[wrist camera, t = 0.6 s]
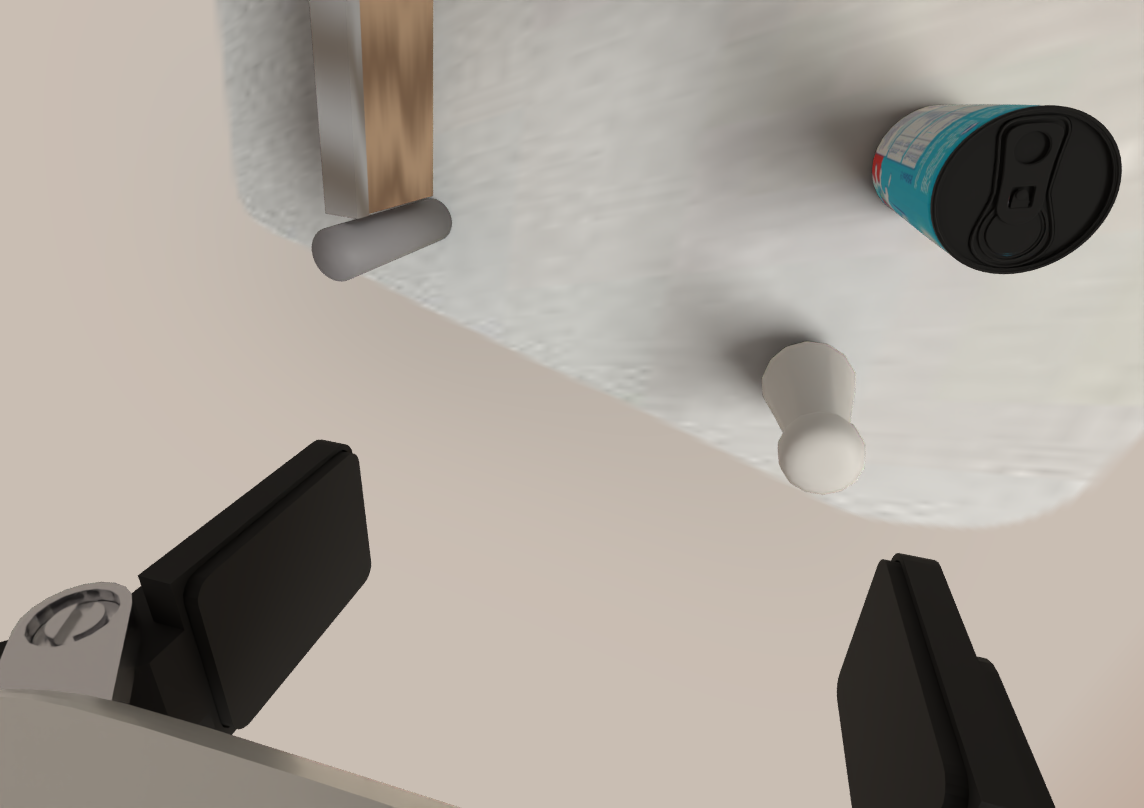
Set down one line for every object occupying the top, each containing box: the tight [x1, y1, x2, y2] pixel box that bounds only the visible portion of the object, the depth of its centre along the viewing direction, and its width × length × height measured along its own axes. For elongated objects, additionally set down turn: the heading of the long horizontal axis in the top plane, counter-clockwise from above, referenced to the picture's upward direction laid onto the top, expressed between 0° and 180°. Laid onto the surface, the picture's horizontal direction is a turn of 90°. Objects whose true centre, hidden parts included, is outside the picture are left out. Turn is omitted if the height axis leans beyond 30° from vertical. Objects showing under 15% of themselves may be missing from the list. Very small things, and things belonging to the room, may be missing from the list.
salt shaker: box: [762, 341, 865, 495], centre depth 37 cm, size 6×6×13 cm
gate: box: [309, 0, 433, 219], centre depth 35 cm, size 15×2×10 cm, turn 174°
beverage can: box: [872, 104, 1122, 274], centre depth 29 cm, size 6×6×15 cm
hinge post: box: [312, 199, 452, 281], centre depth 40 cm, size 3×3×12 cm
